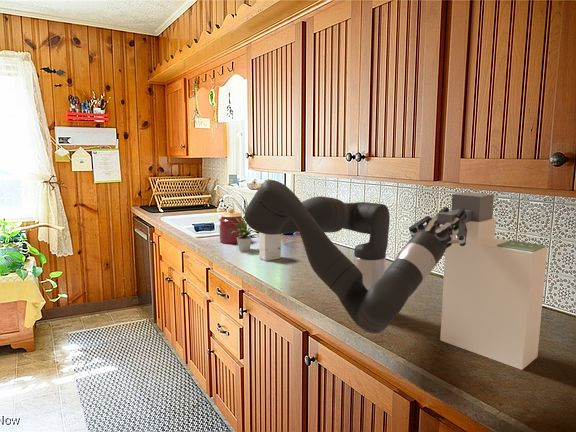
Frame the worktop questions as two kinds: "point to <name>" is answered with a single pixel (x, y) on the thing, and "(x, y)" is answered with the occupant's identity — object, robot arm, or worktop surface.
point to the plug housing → (469, 207)
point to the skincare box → (269, 246)
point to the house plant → (243, 236)
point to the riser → (493, 295)
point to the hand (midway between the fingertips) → (455, 211)
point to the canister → (229, 226)
